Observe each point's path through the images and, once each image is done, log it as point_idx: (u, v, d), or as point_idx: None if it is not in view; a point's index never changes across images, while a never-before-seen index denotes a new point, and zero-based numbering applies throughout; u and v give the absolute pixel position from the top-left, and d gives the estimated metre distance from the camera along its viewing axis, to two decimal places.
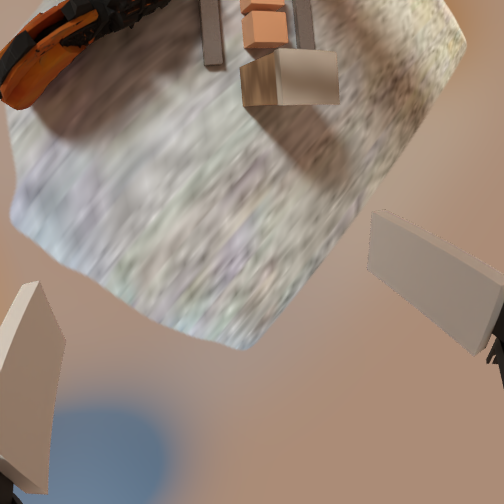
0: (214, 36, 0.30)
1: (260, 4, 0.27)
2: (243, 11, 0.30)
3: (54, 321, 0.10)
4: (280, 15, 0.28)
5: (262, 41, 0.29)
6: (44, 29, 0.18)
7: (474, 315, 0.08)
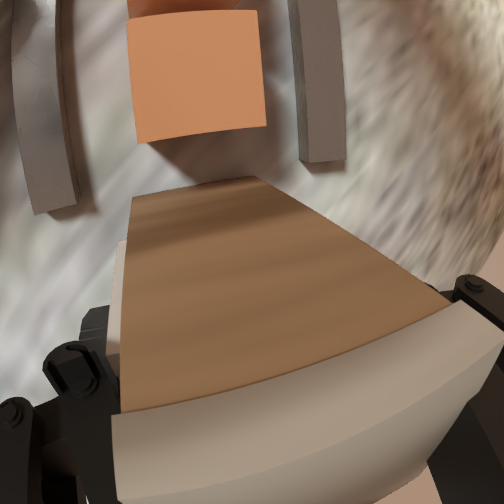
0: (44, 123, 0.09)
1: None
2: None
3: None
4: (237, 21, 0.08)
5: (168, 135, 0.09)
6: None
7: None
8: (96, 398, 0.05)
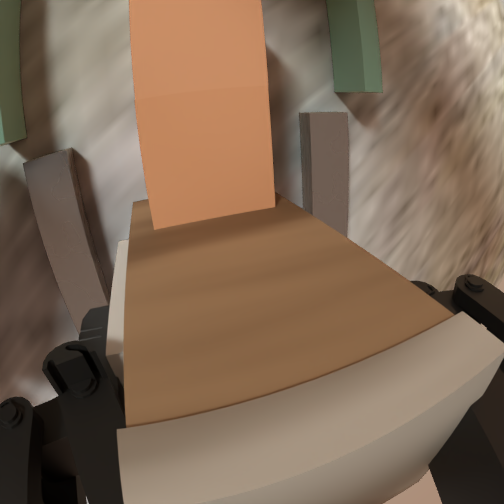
0: None
1: None
2: None
3: None
4: (248, 100, 0.09)
5: (182, 220, 0.10)
6: None
7: None
8: (96, 398, 0.05)
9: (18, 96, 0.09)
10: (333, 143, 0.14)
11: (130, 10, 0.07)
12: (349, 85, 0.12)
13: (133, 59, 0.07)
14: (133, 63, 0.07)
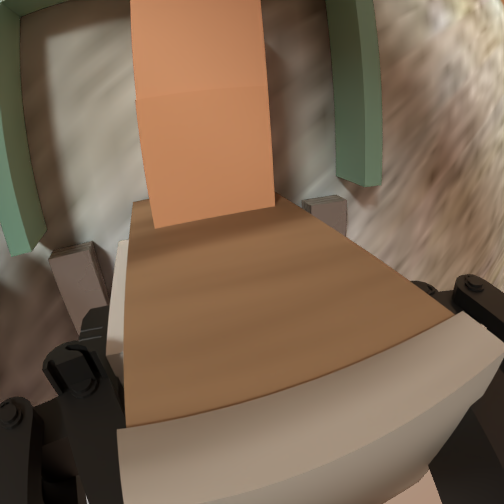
0: None
1: None
2: None
3: None
4: (248, 100, 0.09)
5: (183, 219, 0.10)
6: None
7: None
8: (96, 398, 0.05)
9: (34, 193, 0.11)
10: None
11: (131, 11, 0.07)
12: (350, 175, 0.14)
13: (134, 60, 0.07)
14: (134, 63, 0.07)
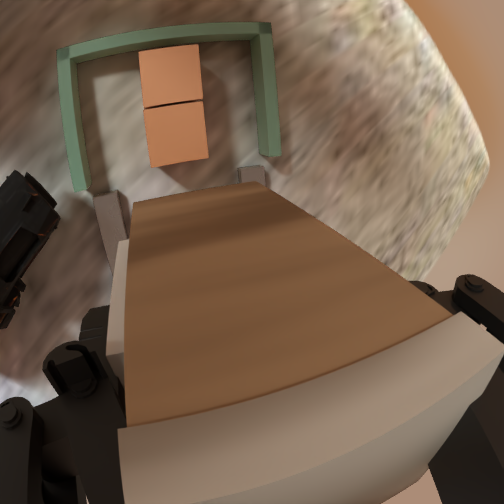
0: None
1: (160, 104, 0.19)
2: None
3: None
4: (193, 108, 0.19)
5: (164, 164, 0.20)
6: None
7: None
8: (96, 398, 0.05)
9: (87, 161, 0.21)
10: None
11: (140, 66, 0.17)
12: (264, 151, 0.25)
13: (142, 89, 0.18)
14: (142, 91, 0.18)
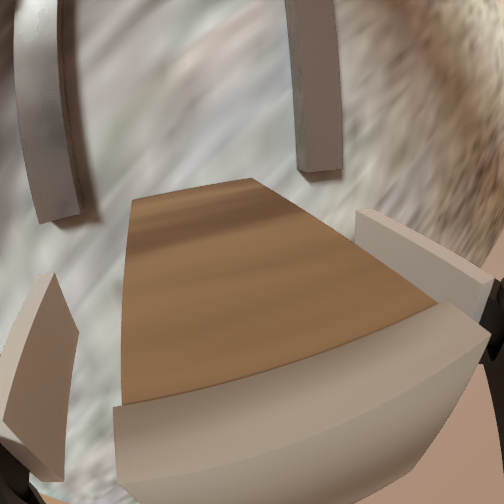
0: (48, 135, 0.10)
1: None
2: None
3: (68, 312, 0.10)
4: None
5: None
6: None
7: None
8: None
9: None
10: None
11: None
12: None
13: None
14: None
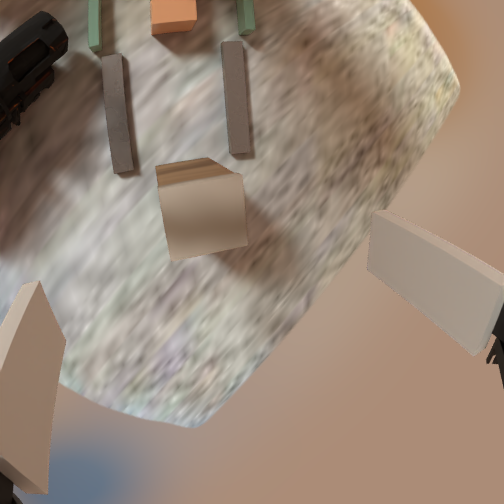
0: (121, 136, 0.27)
1: None
2: None
3: (54, 321, 0.10)
4: None
5: (162, 22, 0.22)
6: None
7: (474, 315, 0.08)
8: None
9: (101, 33, 0.23)
10: (235, 54, 0.27)
11: None
12: (242, 29, 0.26)
13: None
14: None
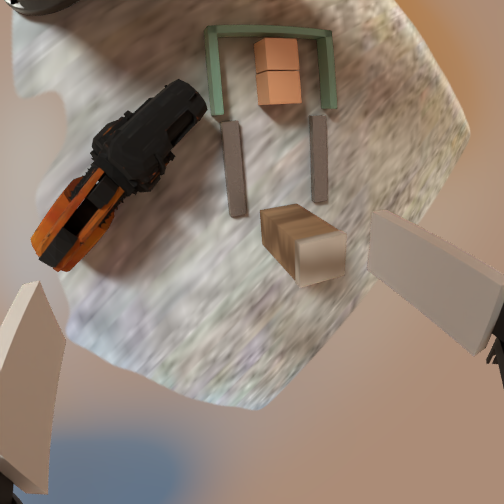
0: (238, 188, 0.39)
1: (276, 69, 0.32)
2: (258, 72, 0.34)
3: (54, 321, 0.10)
4: (294, 74, 0.33)
5: (277, 103, 0.34)
6: (75, 211, 0.27)
7: (474, 315, 0.08)
8: None
9: None
10: (320, 126, 0.39)
11: (265, 46, 0.30)
12: (326, 106, 0.38)
13: (267, 59, 0.31)
14: (267, 60, 0.31)
